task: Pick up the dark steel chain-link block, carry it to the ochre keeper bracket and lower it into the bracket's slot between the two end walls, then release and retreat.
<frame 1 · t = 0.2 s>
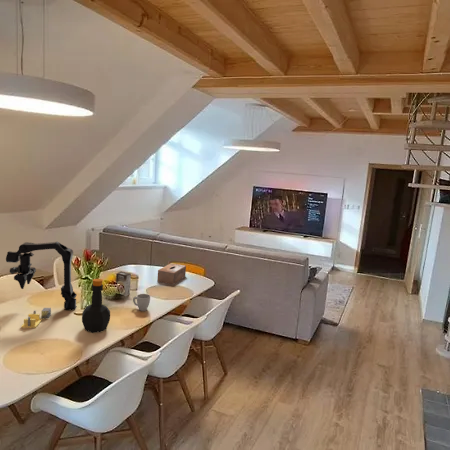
hand: (25, 286, 242), 14 cm above the table, fingers open, 9 cm apart
keeper: (31, 323, 224), on the table
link: (46, 317, 234), on the table
tissue box cover: (171, 279, 330), on the table
bottle: (95, 328, 225), on the table
coffee box: (122, 294, 284), on the table
mug: (140, 309, 259), on the table
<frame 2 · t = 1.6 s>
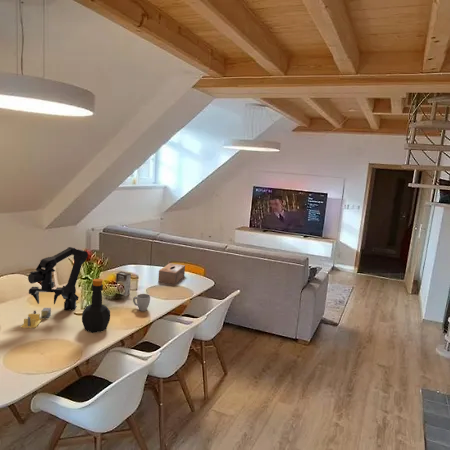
hand: (46, 304, 233), 8 cm above the table, fingers open, 9 cm apart
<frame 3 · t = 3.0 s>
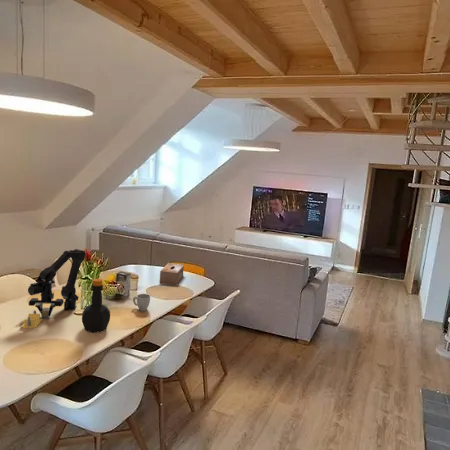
hand: (46, 315, 234), 1 cm above the table, fingers closed on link, 4 cm apart
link: (46, 316, 234), on the table, touching gripper
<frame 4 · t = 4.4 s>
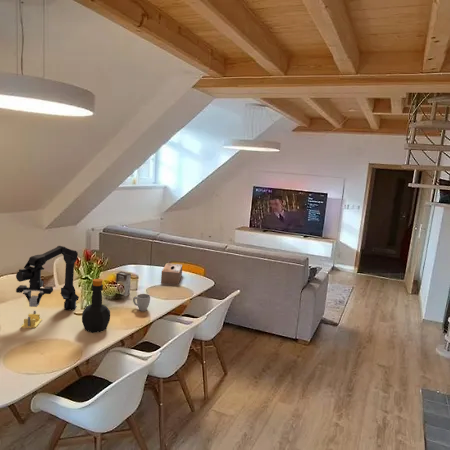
hand: (34, 303, 224), 12 cm above the table, fingers closed on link, 4 cm apart
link: (34, 305, 224), point 11 cm above the table, touching gripper
when the fingers open (2 cm above the table, at t = 6.0 s): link stays where it is, resting on keeper.
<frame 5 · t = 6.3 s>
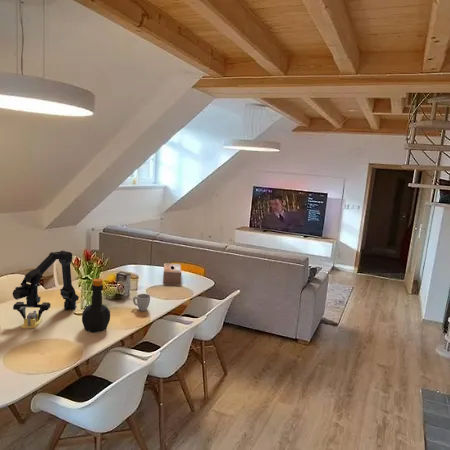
hand: (32, 319, 224), 2 cm above the table, fingers open, 7 cm apart
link: (32, 322, 224), point 1 cm above the table, touching keeper
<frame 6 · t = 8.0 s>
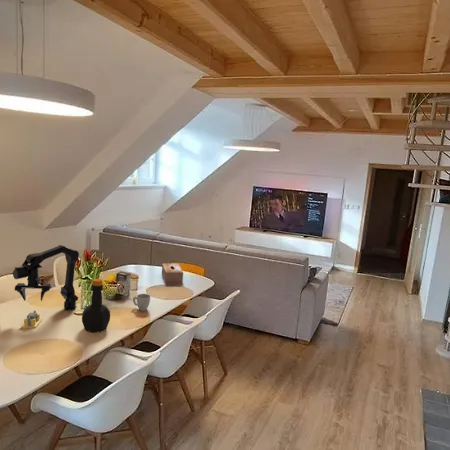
hand: (33, 300, 228), 12 cm above the table, fingers open, 9 cm apart
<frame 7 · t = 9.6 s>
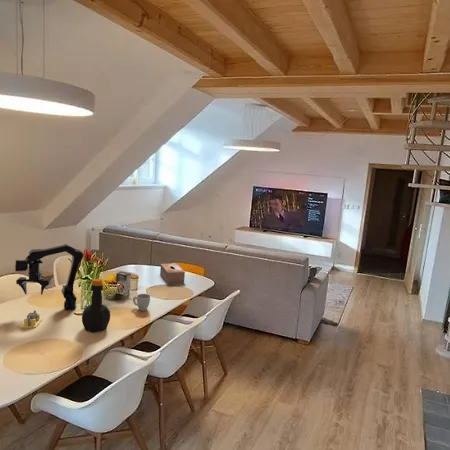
hand: (33, 294, 237), 12 cm above the table, fingers open, 9 cm apart
at the end: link 0.0 cm off-centre on the keeper, point 0.8 cm above the keeper's base; the gripper is holding nothing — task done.
